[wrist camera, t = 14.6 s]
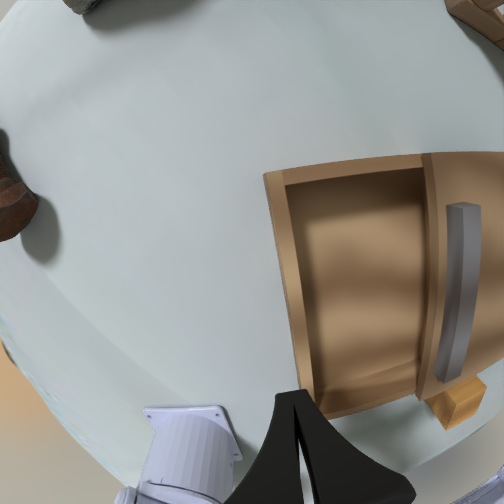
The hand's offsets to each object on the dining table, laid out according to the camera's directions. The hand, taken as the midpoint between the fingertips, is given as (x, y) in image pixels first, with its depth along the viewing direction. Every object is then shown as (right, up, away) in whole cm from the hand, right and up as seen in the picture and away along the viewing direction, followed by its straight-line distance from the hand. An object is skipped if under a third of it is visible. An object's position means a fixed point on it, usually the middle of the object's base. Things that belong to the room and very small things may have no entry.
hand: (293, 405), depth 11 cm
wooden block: (+23, +31, +2) cm, 38 cm away
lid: (+16, +6, +6) cm, 18 cm away
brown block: (+18, -6, +11) cm, 22 cm away
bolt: (-25, +16, +6) cm, 30 cm away
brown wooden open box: (+7, +4, +8) cm, 11 cm away
